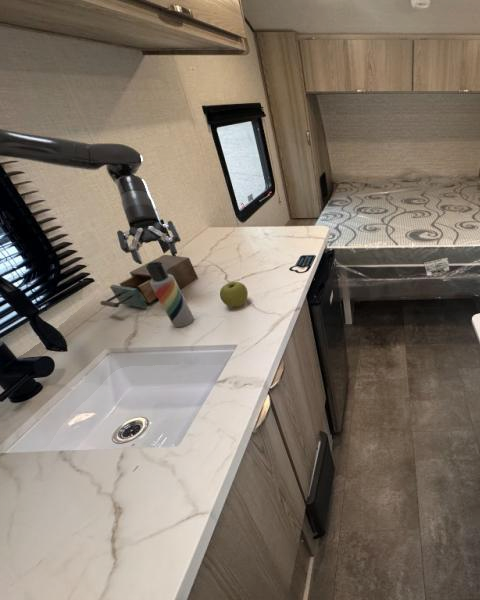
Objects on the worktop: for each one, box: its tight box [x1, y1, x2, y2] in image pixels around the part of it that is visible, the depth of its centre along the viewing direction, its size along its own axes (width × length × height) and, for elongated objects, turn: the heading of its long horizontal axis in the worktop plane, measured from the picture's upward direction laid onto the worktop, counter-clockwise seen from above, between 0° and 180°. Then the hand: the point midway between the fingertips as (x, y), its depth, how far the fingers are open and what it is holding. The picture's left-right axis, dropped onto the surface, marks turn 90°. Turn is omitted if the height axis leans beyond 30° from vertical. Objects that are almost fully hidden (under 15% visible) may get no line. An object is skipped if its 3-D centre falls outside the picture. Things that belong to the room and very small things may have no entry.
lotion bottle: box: [146, 261, 195, 328], centre depth 93 cm, size 6×6×20 cm
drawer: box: [100, 275, 158, 309], centre depth 106 cm, size 18×10×7 cm, turn 163°
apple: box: [219, 281, 249, 308], centre depth 103 cm, size 8×8×7 cm
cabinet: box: [129, 254, 199, 291], centre depth 115 cm, size 14×12×9 cm
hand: (157, 259), depth 94 cm, fingers open, 8 cm apart
